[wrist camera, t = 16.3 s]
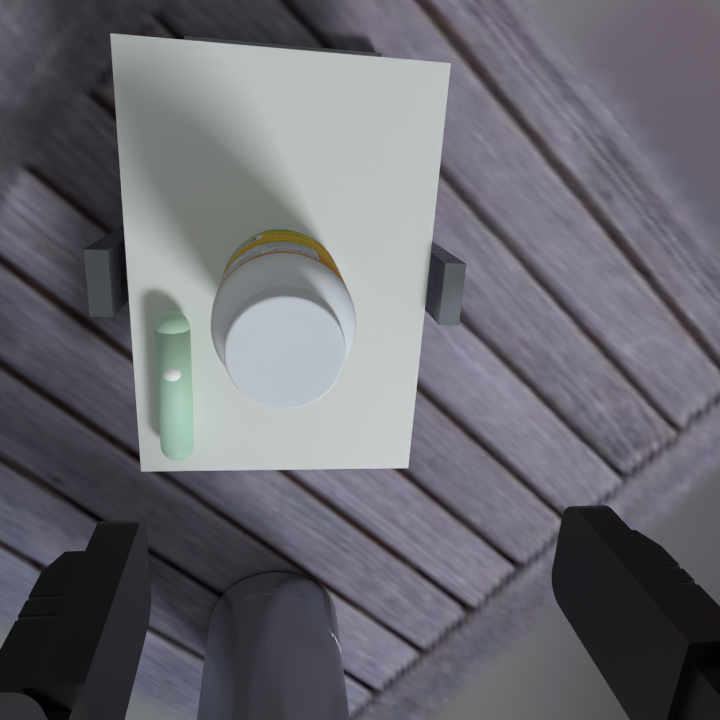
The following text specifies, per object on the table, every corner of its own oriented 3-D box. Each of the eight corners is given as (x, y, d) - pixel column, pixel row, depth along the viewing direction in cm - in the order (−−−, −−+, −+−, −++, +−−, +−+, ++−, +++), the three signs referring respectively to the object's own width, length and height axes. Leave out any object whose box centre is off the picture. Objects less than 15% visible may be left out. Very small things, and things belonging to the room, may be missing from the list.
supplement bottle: (334, 341, 30) (359, 432, 21) (222, 335, 29) (199, 427, 20) (344, 231, 28) (377, 279, 19) (225, 221, 27) (201, 266, 18)
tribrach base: (405, 424, 41) (438, 494, 33) (140, 425, 38) (106, 501, 30) (441, 61, 33) (494, 37, 25) (115, 32, 31) (60, -5, 23)
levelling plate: (404, 458, 34) (414, 484, 32) (144, 461, 32) (133, 489, 30) (444, 65, 27) (462, 59, 25) (116, 36, 25) (98, 26, 23)
